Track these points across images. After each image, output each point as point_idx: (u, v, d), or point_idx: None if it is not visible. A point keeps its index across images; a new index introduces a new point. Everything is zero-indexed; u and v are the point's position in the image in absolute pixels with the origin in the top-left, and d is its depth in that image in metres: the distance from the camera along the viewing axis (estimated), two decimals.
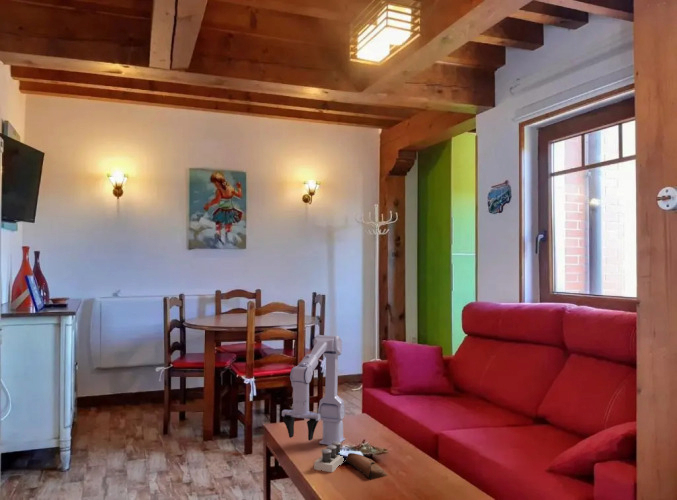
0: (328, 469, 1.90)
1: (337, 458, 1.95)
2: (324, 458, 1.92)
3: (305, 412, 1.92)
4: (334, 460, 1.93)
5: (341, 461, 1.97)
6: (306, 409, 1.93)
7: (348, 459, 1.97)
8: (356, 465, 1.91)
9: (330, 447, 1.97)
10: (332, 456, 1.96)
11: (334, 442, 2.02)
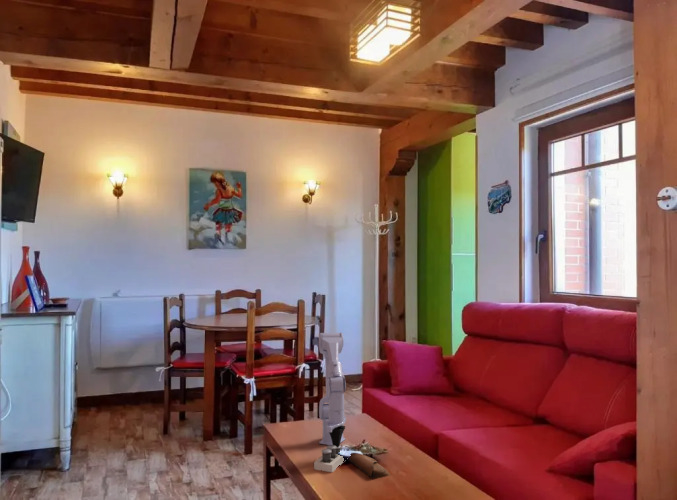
0: (328, 469, 1.90)
1: (337, 458, 1.95)
2: (324, 458, 1.92)
3: (330, 421, 2.00)
4: (334, 460, 1.93)
5: (341, 461, 1.97)
6: (331, 418, 2.00)
7: (351, 459, 1.97)
8: (359, 465, 1.91)
9: (330, 447, 1.97)
10: (332, 456, 1.96)
11: None
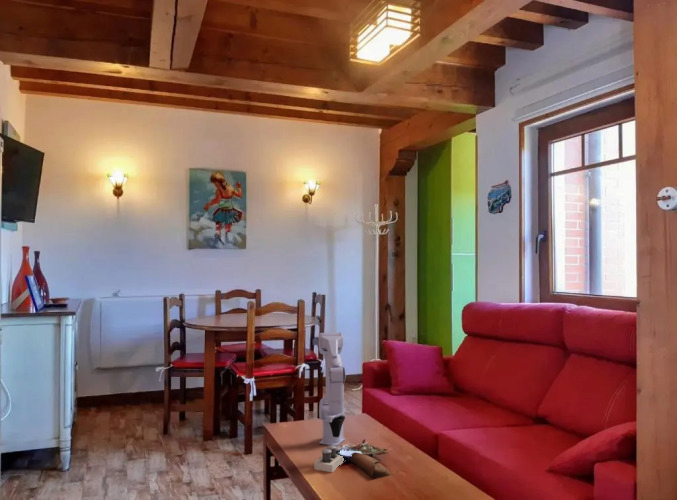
0: (328, 469, 1.90)
1: (337, 458, 1.95)
2: (324, 458, 1.92)
3: (330, 411, 2.00)
4: (334, 460, 1.93)
5: (341, 461, 1.97)
6: (331, 408, 1.99)
7: (352, 458, 1.97)
8: (360, 464, 1.91)
9: (330, 447, 1.97)
10: (332, 456, 1.96)
11: None
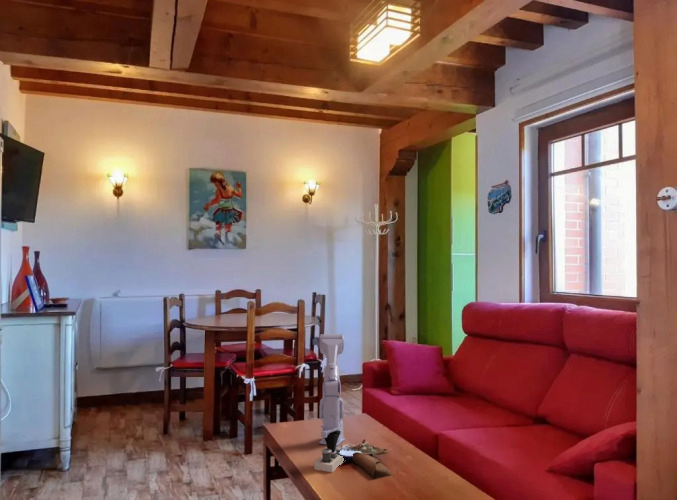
0: (328, 469, 1.90)
1: (337, 458, 1.95)
2: (324, 458, 1.92)
3: (325, 425, 1.96)
4: (334, 460, 1.93)
5: (341, 461, 1.97)
6: (326, 423, 1.95)
7: (353, 458, 1.98)
8: (361, 464, 1.92)
9: None
10: None
11: None
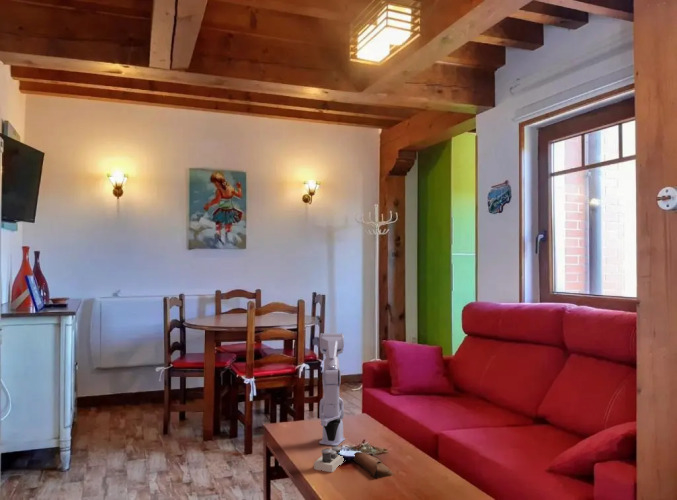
0: (328, 469, 1.90)
1: (337, 458, 1.95)
2: (324, 458, 1.92)
3: (325, 414, 1.96)
4: (334, 460, 1.93)
5: (341, 461, 1.97)
6: (326, 412, 1.95)
7: (355, 458, 1.98)
8: (362, 464, 1.92)
9: None
10: None
11: (334, 447, 2.02)
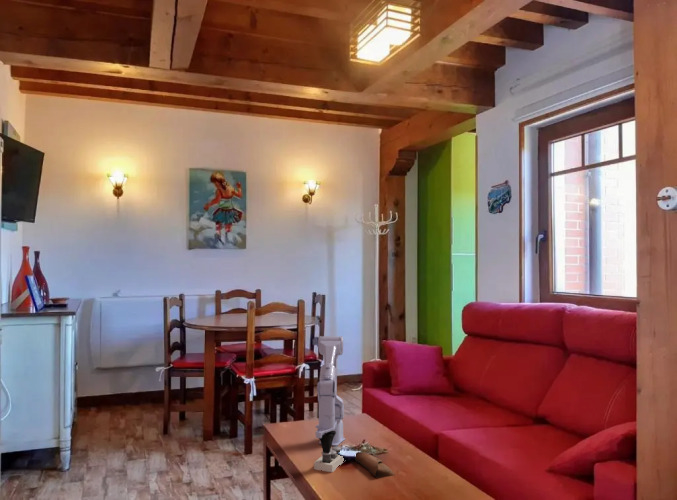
0: (328, 469, 1.90)
1: (337, 458, 1.95)
2: (324, 460, 1.92)
3: (320, 426, 1.92)
4: (334, 460, 1.93)
5: (341, 461, 1.97)
6: (321, 423, 1.91)
7: (356, 458, 1.98)
8: (364, 464, 1.92)
9: None
10: None
11: (334, 447, 2.02)
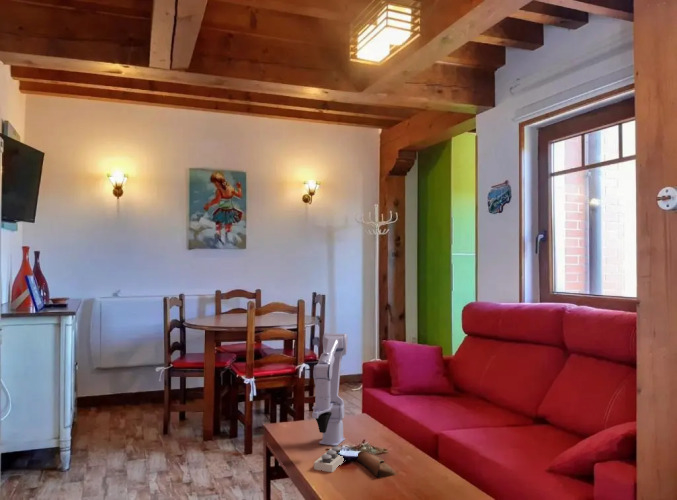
0: (328, 469, 1.90)
1: (337, 458, 1.95)
2: None
3: (316, 407, 2.03)
4: (334, 460, 1.93)
5: (341, 461, 1.97)
6: (317, 405, 2.02)
7: (358, 457, 1.98)
8: (366, 463, 1.92)
9: (330, 452, 1.97)
10: None
11: (334, 447, 2.02)
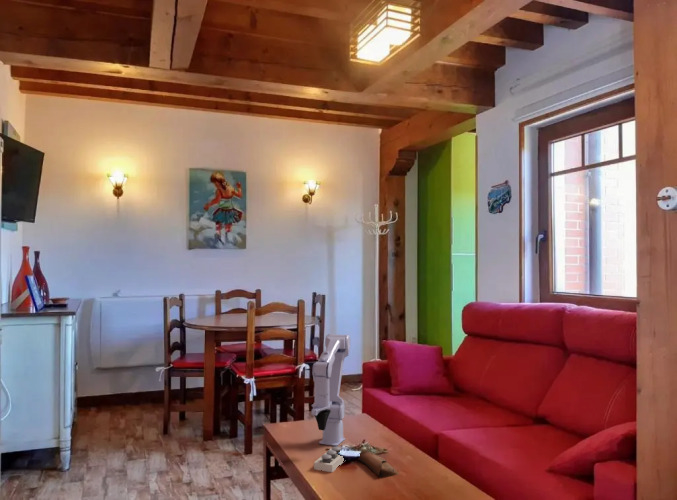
0: (328, 469, 1.90)
1: (337, 458, 1.95)
2: None
3: (316, 404, 2.05)
4: (334, 460, 1.93)
5: (341, 461, 1.97)
6: (316, 402, 2.05)
7: (360, 457, 1.99)
8: (367, 463, 1.93)
9: (330, 452, 1.97)
10: None
11: (334, 447, 2.02)
